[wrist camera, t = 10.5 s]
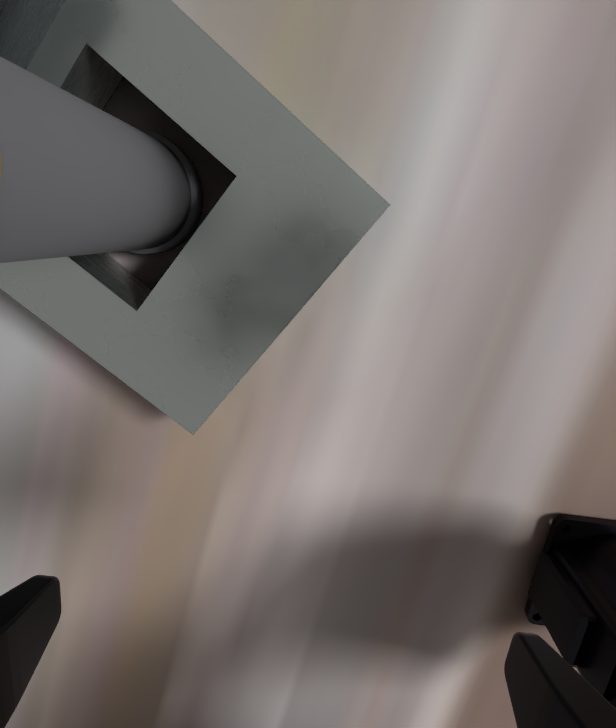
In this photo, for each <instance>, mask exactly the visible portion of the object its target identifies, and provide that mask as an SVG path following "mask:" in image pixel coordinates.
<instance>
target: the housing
mask: <svg viewBox="0 0 616 728" xmlns="http://www.w3.org/2000/svg"><path fill="white" fill-rule="evenodd" d="M0 56H1V57H3V58H4V59H6V60H8V61H10V62H12V63H14V64H16V65H18V66H20V67H21V68H23V69H25V70H27V71H29V72H31V73H33V74H35V75H36V76H38V77H40V78H42V79H44V80H46V81H48V82H50V83H52V84H53V85H55V86H57V87H59V88H61V89H63V90H65V91H67V92H69V93H70V94H72V95H74V96H76V97H78V98H80V99H82V100H84V101H86V102H87V103H89V104H91V105H93V106H95V107H97V108H99V109H101V110H103V108H104V107H105V105H106V104H107V102H108V100H109V99H110V97H111V96H112V94H113V92H114V91H115V89H116V88H117V86H118V84H119V83H120V81H121V80H122V78H123V76H124V77H125V78H126V79H127V80H128V81H130V82H131V83H132V84H133V85H134V86H135V87H136V88H137V89H139V90H140V91H141V92H142V93H143V94H144V95H145V96H147V97H148V98H149V99H150V100H151V101H152V102H153V103H154V104H156V105H157V106H158V107H159V108H160V109H161V110H162V111H164V112H165V113H166V114H167V115H168V116H169V117H170V118H171V119H173V120H174V121H175V122H176V123H177V124H178V125H179V126H180V127H182V128H183V129H184V130H185V131H186V132H187V133H188V134H190V135H191V136H192V137H193V138H194V139H195V140H196V141H197V142H199V143H200V144H201V145H202V146H203V147H204V148H205V149H206V150H208V151H209V152H210V153H211V154H212V155H213V156H214V157H216V158H217V159H218V160H219V161H220V162H221V163H222V164H223V165H225V166H226V167H227V168H228V169H229V170H230V171H231V172H233V173H234V174H235V175H236V178H235V179H234V180H233V182H232V183H231V184H230V186H229V187H228V188H227V190H226V191H225V193H224V194H223V195H222V197H221V198H220V199H219V201H218V202H217V203H216V205H215V206H214V207H213V209H212V210H211V212H210V213H209V214H208V216H207V217H206V218H205V220H204V221H203V222H202V224H201V225H200V226H199V228H198V229H197V230H196V232H195V233H194V235H193V236H192V237H191V239H190V240H189V241H188V243H187V244H186V245H185V247H184V248H183V249H182V251H181V252H180V254H179V255H178V256H177V258H176V259H175V260H174V262H173V263H172V264H171V266H170V267H169V268H168V270H167V271H166V273H165V274H164V275H163V277H162V278H161V279H160V281H159V282H158V283H157V285H156V286H155V287H154V289H153V290H151V289H150V288H148V287H147V286H146V285H145V284H143V283H142V282H141V281H140V280H138V279H137V278H136V277H135V276H134V275H132V274H131V273H130V272H129V271H127V270H126V269H125V268H124V267H122V266H121V265H120V264H119V263H117V262H116V261H115V260H114V259H112V258H111V257H110V256H109V255H107V254H106V253H99V254H89V255H79V256H68V257H58V258H48V259H38V260H27V261H17V262H7V263H0V289H2V290H3V291H4V292H6V293H7V294H8V295H9V296H11V297H12V298H13V299H15V300H16V301H17V302H19V303H20V304H21V305H23V306H24V307H25V308H27V309H28V310H29V311H31V312H32V313H33V314H34V315H36V316H37V317H38V318H40V319H41V320H42V321H44V322H45V323H46V324H48V325H49V326H50V327H52V328H53V329H54V330H56V331H57V332H58V333H59V334H61V335H62V336H63V337H65V338H66V339H67V340H69V341H70V342H71V343H73V344H74V345H75V346H77V347H78V348H79V349H81V350H82V351H83V352H84V353H86V354H87V355H88V356H90V357H91V358H92V359H94V360H95V361H96V362H98V363H99V364H100V365H102V366H103V367H104V368H106V369H107V370H108V371H109V372H111V373H112V374H113V375H115V376H116V377H117V378H119V379H120V380H121V381H123V382H124V383H125V384H127V385H128V386H129V387H131V388H132V389H133V390H134V391H136V392H137V393H138V394H140V395H141V396H142V397H144V398H145V399H146V400H148V401H149V402H150V403H152V404H153V405H154V406H156V407H157V408H158V409H159V410H161V411H162V412H163V413H165V414H166V415H167V416H169V417H170V418H171V419H173V420H174V421H175V422H177V423H178V424H179V425H181V426H182V427H183V428H184V429H186V430H187V431H188V432H190V433H191V434H192V435H194V434H195V432H196V431H197V430H198V429H199V428H200V427H201V425H202V424H203V423H204V422H205V421H206V420H207V418H208V417H209V416H210V415H211V414H212V413H213V411H214V410H215V409H216V408H217V407H218V406H219V404H220V403H221V402H222V401H223V400H224V399H225V397H226V396H227V395H228V394H229V393H230V392H231V390H232V389H233V388H234V387H235V386H236V385H237V383H238V382H239V381H240V380H241V379H242V378H243V376H244V375H245V374H246V373H247V372H248V371H249V369H250V368H251V367H252V366H253V365H254V364H255V362H256V361H257V360H258V359H259V358H260V356H261V355H262V354H263V353H264V352H265V351H266V349H267V348H268V347H269V346H270V345H271V344H272V342H273V341H274V340H275V339H276V338H277V337H278V335H279V334H280V333H281V332H282V331H283V330H284V328H285V327H286V326H287V325H288V324H289V323H290V321H291V320H292V319H293V318H294V317H295V316H296V314H297V313H298V312H299V311H300V310H301V309H302V307H303V306H304V305H305V304H306V303H307V302H308V300H309V299H310V298H311V297H312V296H313V295H314V293H315V292H316V291H317V290H318V289H319V288H320V286H321V285H322V284H323V283H324V282H325V280H326V279H327V278H328V277H329V276H330V275H331V273H332V272H333V271H334V270H335V269H336V268H337V266H338V265H339V264H340V263H341V262H342V261H343V259H344V258H345V257H346V256H347V255H348V254H349V252H350V251H351V250H352V249H353V248H354V247H355V245H356V244H357V243H358V242H359V241H360V240H361V238H362V237H363V236H364V235H365V234H366V233H367V231H368V230H369V229H370V228H371V227H372V226H373V224H374V223H375V222H376V221H377V220H378V219H379V217H380V216H381V215H382V214H383V213H384V212H385V210H386V209H387V208H388V207H389V206H390V204H389V203H388V202H387V201H386V200H385V199H383V198H382V197H381V196H380V195H379V194H378V193H377V192H376V191H375V190H374V189H373V188H372V187H371V186H370V185H368V184H367V183H366V182H365V181H364V180H363V179H362V178H361V177H360V176H359V175H358V174H357V173H356V172H355V171H353V170H352V169H351V168H350V167H349V166H348V165H347V164H346V163H345V162H344V161H343V160H342V159H341V158H339V157H338V156H337V155H336V154H335V153H334V152H333V151H332V150H331V149H330V148H329V147H328V146H327V145H326V144H324V143H323V142H322V141H321V140H320V139H319V138H318V137H317V136H316V135H315V134H314V133H313V132H312V131H311V130H309V129H308V128H307V127H306V126H305V125H304V124H303V123H302V122H301V121H300V120H299V119H298V118H297V117H296V116H294V115H293V114H292V113H291V112H290V111H289V110H288V109H287V108H286V107H285V106H284V105H283V104H282V103H281V102H279V101H278V100H277V99H276V98H275V97H274V96H273V95H272V94H271V93H270V92H269V91H268V90H267V89H266V88H264V87H263V86H262V85H261V84H260V83H259V82H258V81H257V80H256V79H255V78H254V77H253V76H252V75H250V74H249V73H248V72H247V71H246V70H245V69H244V68H243V67H242V66H241V65H240V64H239V63H238V62H237V61H235V60H234V59H233V58H232V57H231V56H230V55H229V54H228V53H227V52H226V51H225V50H224V49H223V48H222V47H220V46H219V45H218V44H217V43H216V42H215V41H214V40H213V39H212V38H211V37H210V36H209V35H208V34H207V33H205V32H204V31H203V30H202V29H201V28H200V27H199V26H198V25H197V24H196V23H195V22H194V21H193V20H192V19H190V18H189V17H188V16H187V15H186V14H185V13H184V12H183V11H182V10H181V9H180V8H179V7H178V6H177V5H175V4H174V3H173V2H172V1H171V0H0Z"/></svg>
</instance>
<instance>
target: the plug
mask: <svg viewBox="0 0 616 728" xmlns="http://www.w3.org/2000/svg"><path fill="white" fill-rule="evenodd" d="M202 207H203V191H202V185H201V181H200V177H199V175H198V172H197V170H196V168H195V166H194V164H193V163H192V161H191V160H190V158H189V157H188V156H187V155H186V153H185V152H184V151H183V150H182V149H181V148H179V147H178V146H177V145H176V144H174V143H173V142H171V141H170V140H168V139H166V138H165V137H163V136H161V135H159V134H157V133H155V132H153V131H150V130H146V129H142V128H135V127H133V126H131V125H129V124H127V123H125V122H123V121H121V120H119V119H118V118H116V117H114V116H112V115H110V114H108V113H106V112H104V111H102V110H101V109H99V108H97V107H95V106H93V105H91V104H89V103H87V102H86V101H84V100H82V99H80V98H78V97H76V96H74V95H72V94H70V93H69V92H67V91H65V90H63V89H61V88H59V87H57V86H55V85H53V84H52V83H50V82H48V81H46V80H44V79H42V78H40V77H38V76H36V75H35V74H33V73H31V72H29V71H27V70H25V69H23V68H21V67H20V66H18V65H16V64H14V63H12V62H10V61H8V60H6V59H4V58H3V57H1V56H0V263H7V262H17V261H27V260H38V259H48V258H58V257H68V256H79V255H89V254H99V253H109V252H120V251H128V252H132V253H137V254H150V253H159V252H164V251H168V250H171V249H173V248H175V247H177V246H179V245H180V244H182V243H183V242H184V241H185V240H186V239H187V238H188V237H189V236H190V235H191V234H192V232H193V231H194V230H195V228H196V226H197V224H198V222H199V219H200V216H201V212H202Z"/></svg>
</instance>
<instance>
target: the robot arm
mask: <svg viewBox="0 0 616 728" xmlns="http://www.w3.org/2000/svg"><path fill="white" fill-rule="evenodd" d="M564 524H567V525H566V526H565V527H563V528H561V527H562V525H564ZM528 594H529V598H528V601H527V604H526V607H525V614H526V616H527V618H528V620H529V622H531V623H532V624H537V625H545V626H546V628H547V629H548V631H549V633H550V635H551V637H552V639H553V640H554V642H555V644H556V646H557V648H558V649H559V651H560V653H561V655H562V657H563V658H562V657H561V656H560V655H559V654H558V653H557V652H556V651H555V650H554V649H553V648H552V647H551V646H550V645H548V644H547V643H546V642H545V641H544V640H543V639H542V638H541V637H540V636H538V635H536V634H531V633H523V632H517V633H515V634H514V636H513V638H512V641H511V644H510V648H509V651H508V654H507V657H506V661H505V667H504V671H505V678H506V682H507V686H508V691H509V695H510V699H511V703H512V707H513V711H514V716H515V720H516V724H517V728H616V521H611V520H603V519H595V518H587V517H579V516H571V515H559V516H557V517H556V518H554V520H553V522H552V524H551V527H550V531H549V534H548V537H547V540H546V543H545V547H544V550H543V553H542V554H541V555H540V557H539V560H538V563H537V566H536V570H535V573H534V576H533V579H532V583H531V586H530V589H529V592H528ZM535 613H537V614H535ZM60 615H61V595H60V583H59V580H58V578H57V577H54V576H45V575H36V576H33V577H31V578H30V579H28V580H26V581H25V582H23V583H21V584H20V585H18V586H16V587H15V588H13V589H11V590H10V591H8V592H6V593H5V594H3V595H1V596H0V728H5V726H6V724H7V722H8V721H9V719H10V717H11V716H12V714H13V712H14V710H15V709H16V707H17V705H18V703H19V701H20V699H21V697H22V695H23V693H24V691H25V689H26V687H27V685H28V683H29V681H30V679H31V677H32V675H33V673H34V671H35V669H36V667H37V665H38V663H39V661H40V659H41V657H42V655H43V653H44V651H45V648H46V646H47V644H48V642H49V640H50V638H51V636H52V634H53V632H54V630H55V628H56V626H57V624H58V622H59V619H60ZM573 667H576V668H577V669H578V671H579V673H580V674H579V673H578V672H577V671H576V670H575V669H574V668H573Z"/></svg>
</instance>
